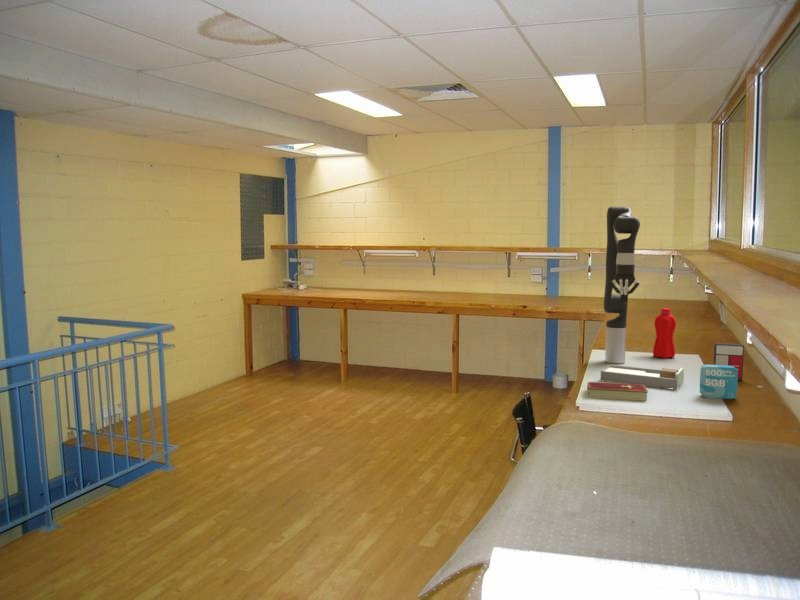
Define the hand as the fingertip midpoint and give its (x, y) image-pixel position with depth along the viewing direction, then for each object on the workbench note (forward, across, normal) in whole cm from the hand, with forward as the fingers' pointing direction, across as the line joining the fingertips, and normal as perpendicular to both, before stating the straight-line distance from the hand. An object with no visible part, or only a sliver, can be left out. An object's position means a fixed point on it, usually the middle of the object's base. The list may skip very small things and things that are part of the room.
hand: (624, 303), depth 271 cm
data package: (+32, -40, +20) cm, 55 cm away
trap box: (+32, -10, +7) cm, 34 cm away
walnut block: (+29, -21, +7) cm, 36 cm away
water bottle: (+32, -7, -58) cm, 67 cm away
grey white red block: (+32, -40, -18) cm, 54 cm away
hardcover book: (+32, -7, +38) cm, 51 cm away
